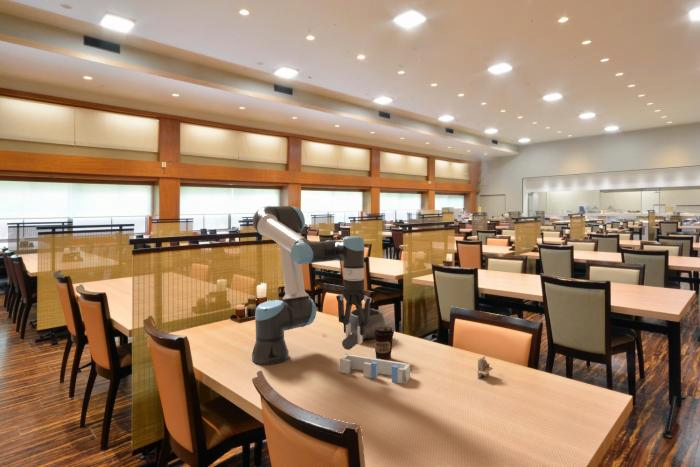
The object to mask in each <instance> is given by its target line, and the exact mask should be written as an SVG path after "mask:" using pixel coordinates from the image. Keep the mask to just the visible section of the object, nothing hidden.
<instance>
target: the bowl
mask: <svg viewBox="0 0 700 467" xmlns="http://www.w3.org/2000/svg"><path fill="white" fill-rule="evenodd" d="M362 309H363V315H364V314H365V307H364V308H363V307H362ZM349 321H350V322H349V323H351V334H352V333H354V332H355V331H357V330H358V326H359V320H358V314H357V309H356V308H355V309H354V310H351V313H350V318H349ZM385 322H386V321H385V318H384V315H383V313H382V311H381V310H378V309H374V308H370V323H369V324H368V325H365V338H364V339H363V340H370V339H374V331H375V330H376V327H382V326H386V324H385ZM349 323H348V324H349Z"/></svg>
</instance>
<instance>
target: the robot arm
mask: <svg viewBox="0 0 700 467" xmlns="http://www.w3.org/2000/svg"><path fill="white" fill-rule="evenodd" d="M305 219H306V218H305V216H304V213H303V212H302V210H301V209H300V208H298V207H297V206H291V205H284V206H283V205H279V206H275V205H274V206H272V205H268V206H263V207H260V208H259V209H258V210H257V211H256V212H255V213H254V215H253V218H252V225H253V228H254V230H255V231H256V232H257V233H258V234H259V235H261V236H263V237H268V238H269V239H271V240H272V241H274V242H275V243H276V244H278V245H279V250H280V260H281V267H282V276H283V284H284V292H285V293H284V296H283V297H282V300H280V299H275V300H268V301H264V302H262V303H259V304H258V305H257V306H256V308H255V315H254V319H255V342H254V347H253V350H252V353H251V361H252V362H253V363H256V364H258V365H276V364H280V363H282V362H286V361H287V360H288V359H289V358H290V357H289V356H290V354H289V353H290V352H289V350H288V346H287V343H286V340H285V332H286V331H290V330H293V329H298V328H304V327H306V326H309V325H311V324H312V323H314V321H315V320H316V316H317V306H316V303H315V301H314V299H312V298H311V297H310V294H308V293H307V292H306V290H305V282H304V273H303V265H308V264H314V263H324V262H325V263H326V262H334V261H335V262H336V261H339V262H343V278H344V280H343V292H342V294H338V295H336V296H335V298H336V301H337V309H338V310H337V311H338V312H337V313H338V322H339V323H340V324H341V323H342V324H343V332H344V334H345V338H347V337H348V336H350V335H351V334H352V333H351V323H349V322H350V321H349V318H350V313H351V312H352V307H353V306H355V310H356V309H357V314H358V320H359V326H358V344H357V345H361V344H362V343H363V340H362V335H364V333H365V325H368V324H369V323H370V309H371V303H372V300H373V297H371V296H370V297H369V296H367V295H366V293H365V280H364V278H365V242H364V238H363V236H359V235H357V236H356V235H353V236H352V235H350V236H349V235H346V236H344V237H343V240H336V239H328V240H325V241H310V240H309V239H307V238H305V237H304V236H303V235H302V231H303V230H304V229H305V225H306V220H305ZM344 300H345V301H344ZM363 300H364V308H365V314H364V315H363V309H362V308H363ZM344 302H346V303H344ZM348 323H349V324H348Z"/></svg>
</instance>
